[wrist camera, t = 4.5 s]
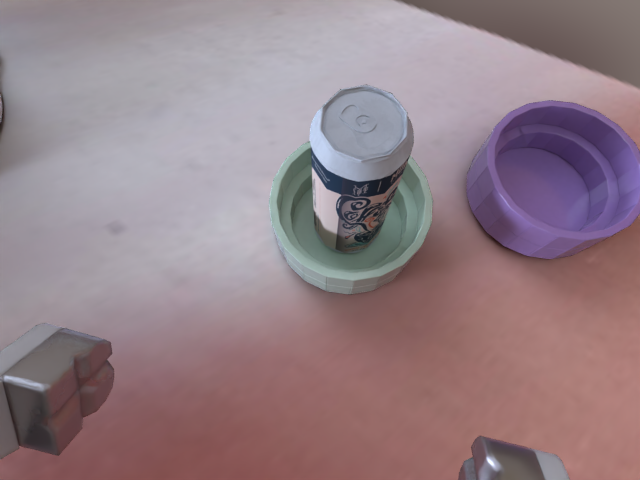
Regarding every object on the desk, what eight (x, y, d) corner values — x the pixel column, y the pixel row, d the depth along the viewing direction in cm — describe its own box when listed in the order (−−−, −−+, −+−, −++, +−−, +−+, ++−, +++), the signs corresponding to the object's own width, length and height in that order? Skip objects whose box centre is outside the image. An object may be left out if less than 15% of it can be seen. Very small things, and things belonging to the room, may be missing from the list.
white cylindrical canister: (350, 269, 27) (371, 190, 16) (300, 226, 28) (286, 125, 17) (393, 221, 28) (440, 116, 17) (343, 182, 30) (356, 60, 18)
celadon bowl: (251, 256, 28) (239, 234, 24) (315, 146, 31) (314, 110, 27) (382, 320, 27) (394, 309, 22) (436, 198, 30) (455, 168, 25)
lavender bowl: (444, 224, 29) (466, 197, 25) (488, 120, 32) (514, 80, 28) (583, 284, 27) (630, 266, 23) (614, 169, 30) (662, 134, 26)
